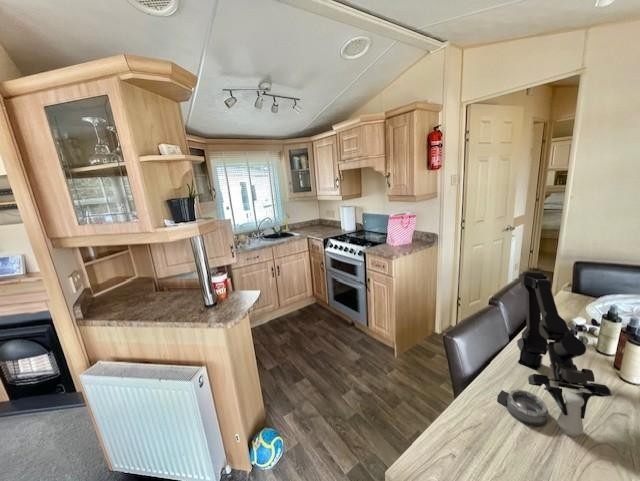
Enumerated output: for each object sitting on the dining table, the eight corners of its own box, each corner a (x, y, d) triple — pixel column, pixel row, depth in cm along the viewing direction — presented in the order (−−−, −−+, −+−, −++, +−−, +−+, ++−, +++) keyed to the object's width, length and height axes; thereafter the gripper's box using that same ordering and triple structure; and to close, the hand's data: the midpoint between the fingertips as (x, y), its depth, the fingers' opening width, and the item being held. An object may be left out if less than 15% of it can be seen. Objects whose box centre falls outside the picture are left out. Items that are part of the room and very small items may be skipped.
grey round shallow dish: (493, 406, 92) (494, 395, 91) (504, 390, 99) (505, 380, 98) (542, 433, 82) (543, 421, 81) (551, 413, 88) (553, 402, 87)
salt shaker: (575, 425, 84) (581, 390, 81) (586, 442, 78) (593, 405, 76) (552, 420, 86) (557, 386, 83) (561, 436, 80) (567, 400, 78)
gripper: (535, 351, 84) (545, 408, 76) (613, 362, 77) (633, 426, 70) (524, 358, 93) (532, 409, 85) (593, 368, 86) (609, 425, 78)
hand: (574, 417), depth 79 cm, fingers open, 4 cm apart
